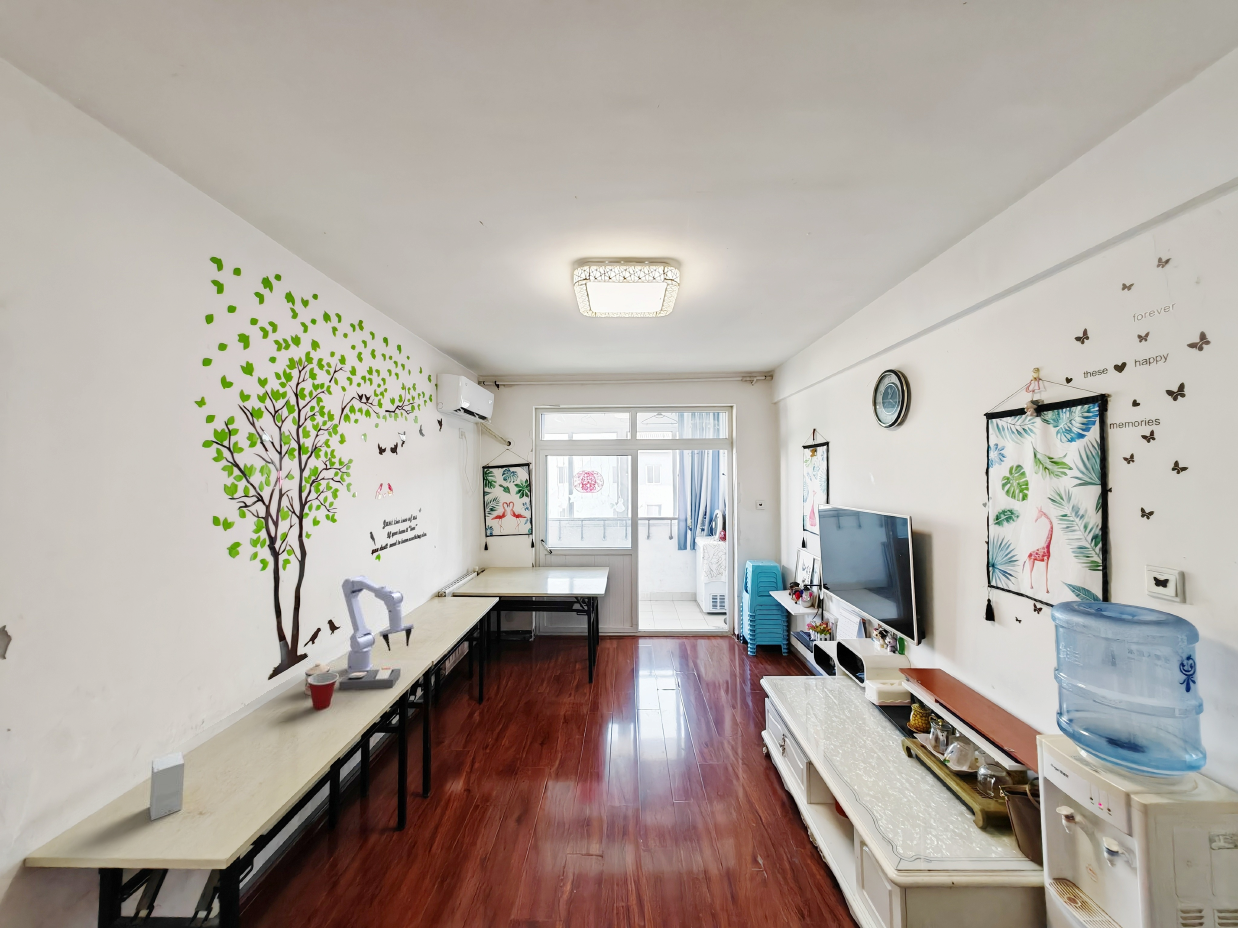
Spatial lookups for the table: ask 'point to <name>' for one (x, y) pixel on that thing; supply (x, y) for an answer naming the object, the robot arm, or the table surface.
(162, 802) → the small box
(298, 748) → the table surface
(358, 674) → the rocker left
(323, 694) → the plastic cup
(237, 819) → the table surface
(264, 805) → the table surface
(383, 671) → the rocker right
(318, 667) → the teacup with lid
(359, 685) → the grey flat block
